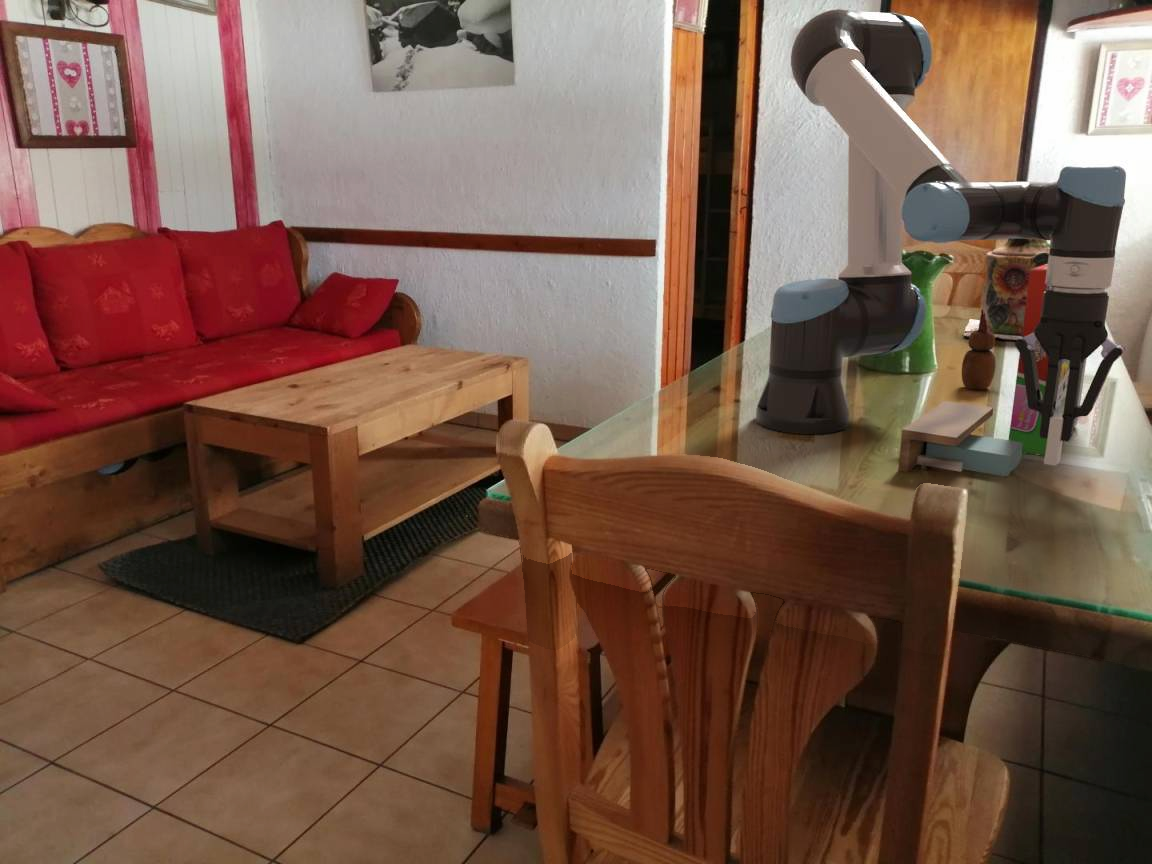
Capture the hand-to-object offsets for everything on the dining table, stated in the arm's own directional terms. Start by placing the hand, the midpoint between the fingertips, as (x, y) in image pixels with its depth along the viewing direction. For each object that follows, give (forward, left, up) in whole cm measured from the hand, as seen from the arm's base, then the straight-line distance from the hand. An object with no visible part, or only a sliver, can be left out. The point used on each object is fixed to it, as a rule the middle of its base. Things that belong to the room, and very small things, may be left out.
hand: (1051, 462), depth 124 cm
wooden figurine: (-22, +49, -2) cm, 54 cm away
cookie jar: (-29, +118, -2) cm, 122 cm away
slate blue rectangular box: (-10, 0, -2) cm, 10 cm away
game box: (-5, +19, -2) cm, 20 cm away
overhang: (-14, 0, -2) cm, 14 cm away
